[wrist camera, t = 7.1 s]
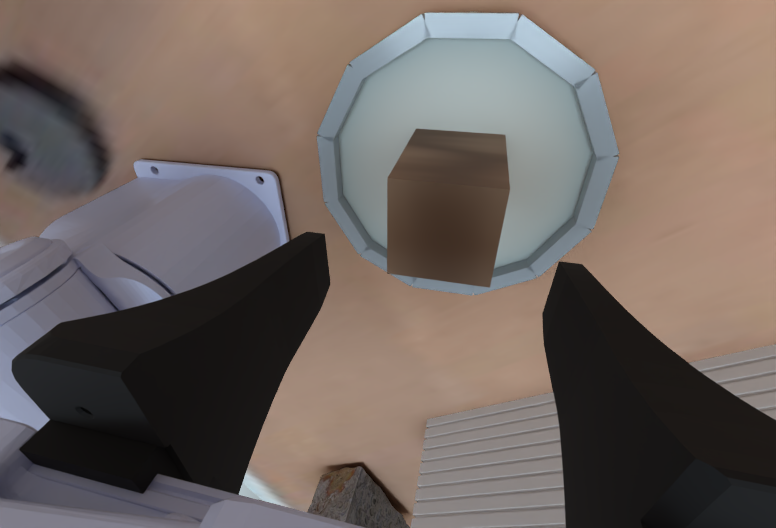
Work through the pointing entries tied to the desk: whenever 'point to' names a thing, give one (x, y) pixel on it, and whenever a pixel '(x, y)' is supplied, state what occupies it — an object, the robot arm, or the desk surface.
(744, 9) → the desk surface
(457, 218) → the block
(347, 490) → the geological specimen
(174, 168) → the robot arm
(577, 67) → the dish
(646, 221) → the desk surface
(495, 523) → the grey ribbed box
